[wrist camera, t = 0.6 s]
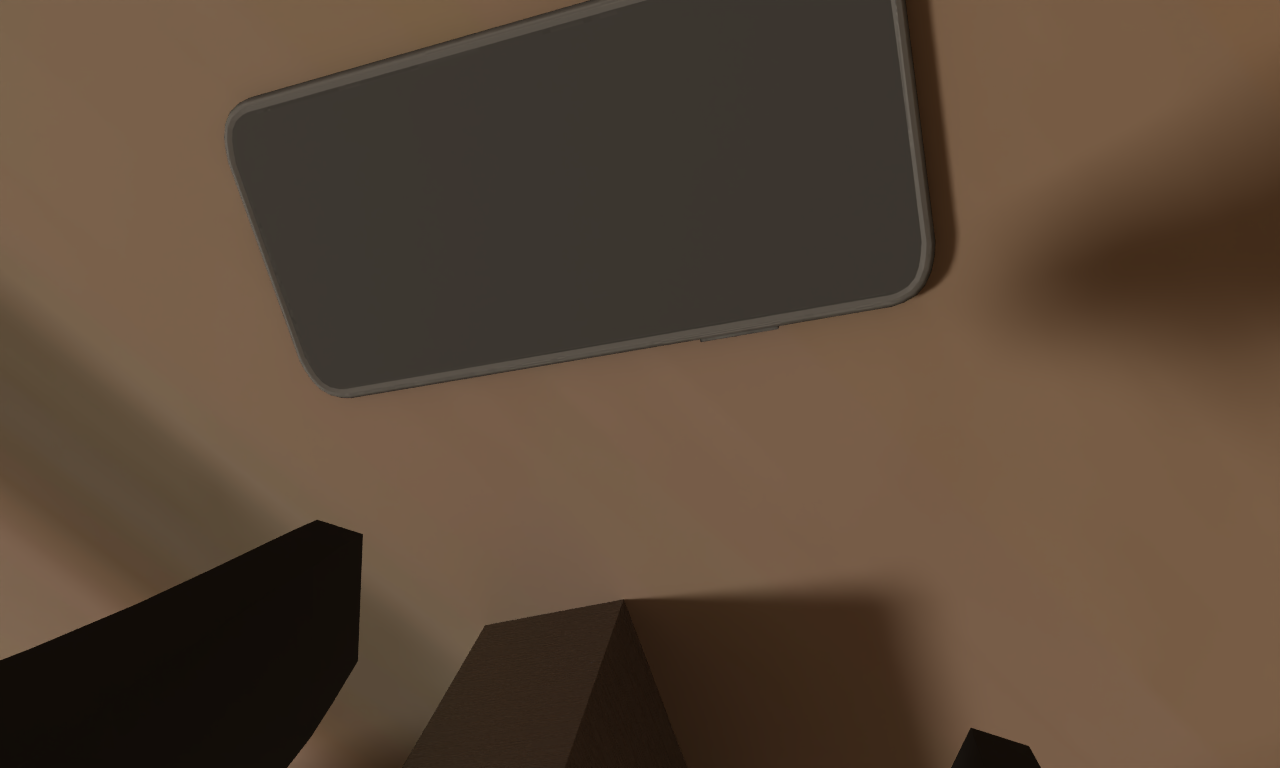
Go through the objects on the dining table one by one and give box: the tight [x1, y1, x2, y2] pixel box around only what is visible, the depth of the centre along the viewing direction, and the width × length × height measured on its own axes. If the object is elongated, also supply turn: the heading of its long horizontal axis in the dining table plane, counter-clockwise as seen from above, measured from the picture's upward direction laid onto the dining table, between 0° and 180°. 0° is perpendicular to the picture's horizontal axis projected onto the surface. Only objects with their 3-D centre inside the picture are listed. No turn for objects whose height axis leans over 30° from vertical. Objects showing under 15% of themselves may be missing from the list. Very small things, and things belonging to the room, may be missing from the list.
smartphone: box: [224, 0, 935, 398], centre depth 19 cm, size 7×1×15 cm
